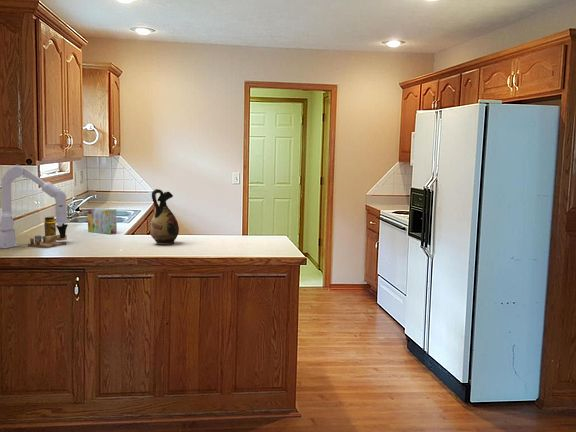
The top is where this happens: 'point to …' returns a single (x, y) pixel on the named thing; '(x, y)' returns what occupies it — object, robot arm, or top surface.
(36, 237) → the foot cap
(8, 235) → the robot arm
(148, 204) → the top surface
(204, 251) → the top surface
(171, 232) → the ceramic jug
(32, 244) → the wooden tray
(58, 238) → the oak leg
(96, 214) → the snack box
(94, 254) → the top surface
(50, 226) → the condiment
